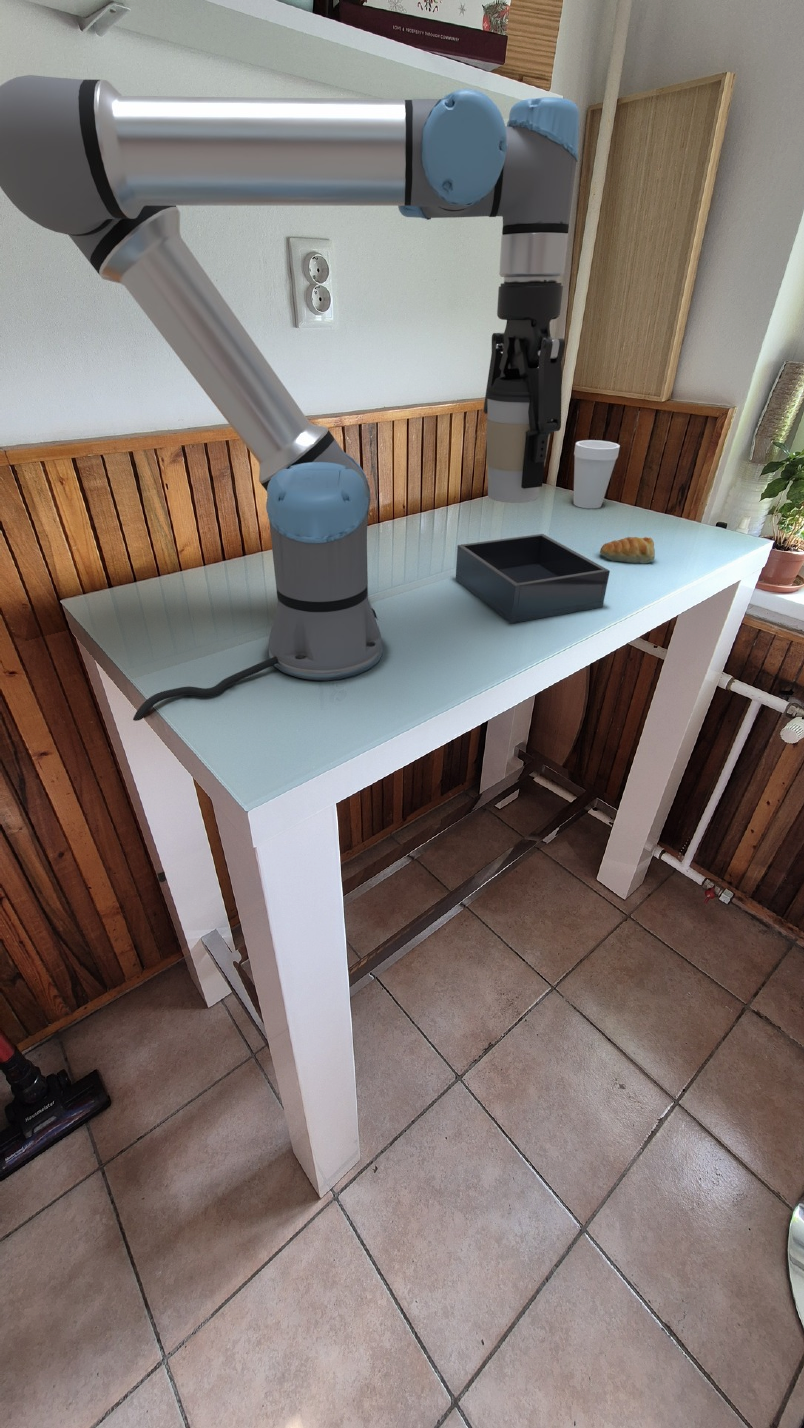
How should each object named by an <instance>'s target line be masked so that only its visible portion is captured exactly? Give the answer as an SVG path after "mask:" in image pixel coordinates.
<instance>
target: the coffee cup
mask: <svg viewBox="0 0 804 1428" xmlns="http://www.w3.org/2000/svg"><path fill="white" fill-rule="evenodd" d="M486 388H487V387H486ZM487 392H488V393H487V395H486V394H485V395H486V398H487V399H488V414H487V416H486V466H487V497H488V498H489V499H491V500H493V501H496V502H500V503H507V504H508V503H509V504H524V503H530V502H533V501H536V500H538V498H539V494H540V488H541V487H534V488H526V489H524V488H522V487H521V484H522V473H523V462H524V451H525V440H526V434H525V432H526V431H528V430H530V424H529V415H528V409H529V403H530V398H529V396H530V393H528V389H527V383H526V382H524V379H522V378H521V379H510V380H504V377H498V378H496V380H495V382H494V384H493V386H490V387H488V388H487ZM551 420H552V419H551ZM538 424H539V421H538ZM550 438H551V434H549V436H548V443H547V452H546V457H547V456H548V450H549V443H550ZM546 461H547V458H546V459H545V462H546ZM544 467H546V463H545V464H544Z"/></svg>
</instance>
